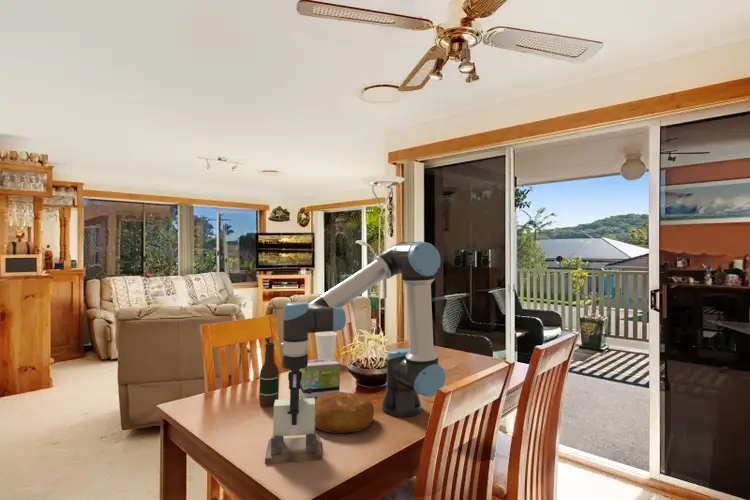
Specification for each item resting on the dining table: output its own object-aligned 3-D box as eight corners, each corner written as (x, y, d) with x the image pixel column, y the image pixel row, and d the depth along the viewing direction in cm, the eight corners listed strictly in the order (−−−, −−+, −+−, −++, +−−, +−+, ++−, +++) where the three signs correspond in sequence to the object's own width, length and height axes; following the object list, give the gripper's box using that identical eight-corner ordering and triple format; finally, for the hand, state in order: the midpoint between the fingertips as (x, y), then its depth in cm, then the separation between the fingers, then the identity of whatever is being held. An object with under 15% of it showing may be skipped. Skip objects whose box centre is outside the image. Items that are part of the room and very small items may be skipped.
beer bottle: (273, 408, 158) (274, 345, 158) (255, 406, 160) (256, 344, 160) (282, 400, 166) (282, 341, 166) (264, 399, 168) (265, 340, 168)
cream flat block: (314, 427, 128) (314, 398, 128) (314, 434, 123) (314, 404, 123) (274, 429, 126) (275, 399, 126) (273, 436, 121) (273, 405, 121)
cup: (315, 360, 228) (315, 331, 228) (336, 359, 229) (336, 331, 229) (314, 366, 216) (314, 335, 216) (336, 365, 217) (337, 335, 217)
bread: (353, 406, 162) (353, 380, 162) (386, 428, 142) (386, 399, 142) (298, 418, 150) (299, 390, 150) (326, 444, 130) (327, 412, 130)
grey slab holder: (320, 440, 132) (320, 420, 132) (321, 459, 120) (321, 437, 120) (268, 444, 129) (269, 423, 129) (265, 463, 117) (265, 441, 117)
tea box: (303, 403, 164) (304, 366, 164) (299, 394, 173) (299, 359, 173) (340, 398, 169) (340, 362, 169) (333, 390, 179) (333, 356, 179)
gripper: (284, 347, 133) (283, 418, 133) (280, 362, 115) (279, 445, 115) (307, 346, 134) (306, 417, 134) (307, 361, 116) (306, 443, 116)
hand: (294, 430), depth 124 cm, fingers closed on cream flat block, 5 cm apart
